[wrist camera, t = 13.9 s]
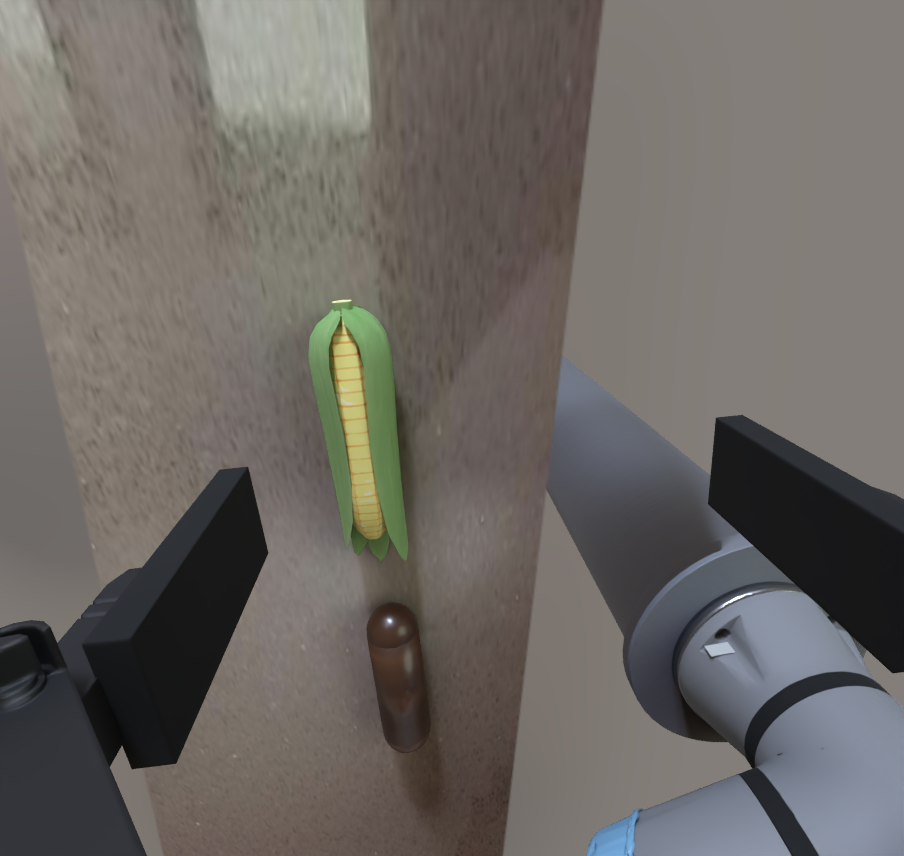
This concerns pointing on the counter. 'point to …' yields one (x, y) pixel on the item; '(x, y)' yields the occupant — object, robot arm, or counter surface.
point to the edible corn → (360, 426)
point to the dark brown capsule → (399, 676)
